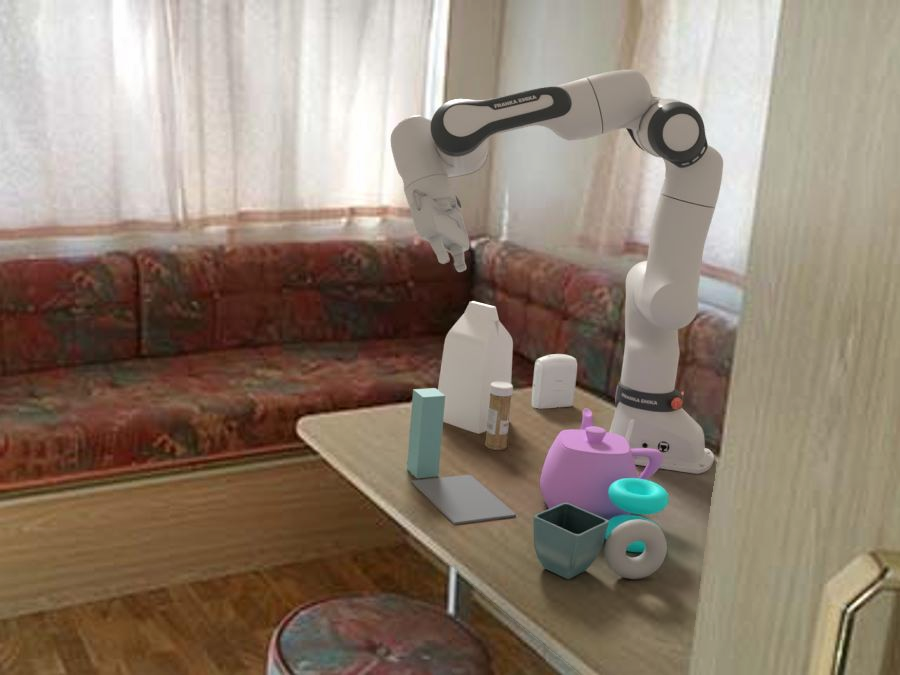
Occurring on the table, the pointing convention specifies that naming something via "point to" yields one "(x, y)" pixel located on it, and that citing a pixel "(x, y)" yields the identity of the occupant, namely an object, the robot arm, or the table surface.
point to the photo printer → (554, 381)
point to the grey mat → (463, 499)
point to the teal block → (425, 432)
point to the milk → (474, 366)
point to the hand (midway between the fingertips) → (453, 266)
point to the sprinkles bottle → (498, 415)
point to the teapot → (591, 468)
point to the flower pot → (568, 539)
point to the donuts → (636, 503)
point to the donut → (628, 535)
